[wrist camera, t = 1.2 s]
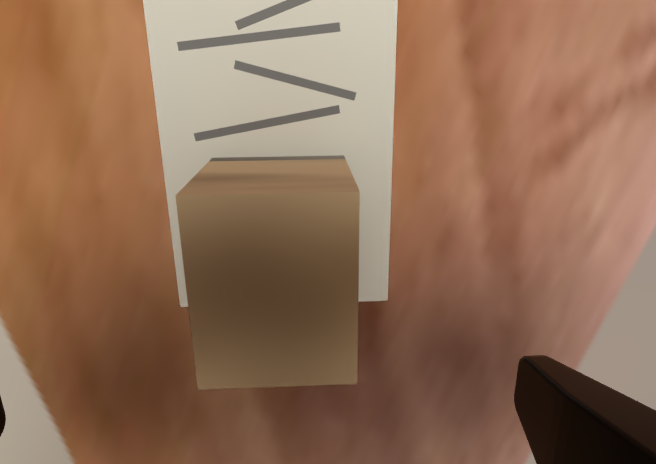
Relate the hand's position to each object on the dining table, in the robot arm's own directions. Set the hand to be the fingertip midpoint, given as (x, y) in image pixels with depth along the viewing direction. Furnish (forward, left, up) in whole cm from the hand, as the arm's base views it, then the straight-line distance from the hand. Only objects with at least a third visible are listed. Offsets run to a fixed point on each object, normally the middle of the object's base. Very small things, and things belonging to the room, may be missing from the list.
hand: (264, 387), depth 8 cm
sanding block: (0, 0, -8) cm, 8 cm away
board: (+3, 0, -9) cm, 9 cm away
